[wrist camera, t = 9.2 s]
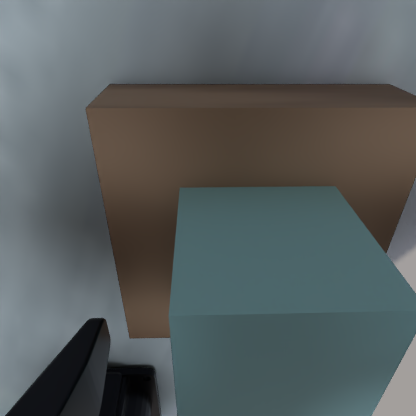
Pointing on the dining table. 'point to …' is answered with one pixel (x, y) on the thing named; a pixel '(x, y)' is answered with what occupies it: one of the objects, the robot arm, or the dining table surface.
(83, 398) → the robot arm
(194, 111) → the walnut base
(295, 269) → the block
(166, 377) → the dining table surface
